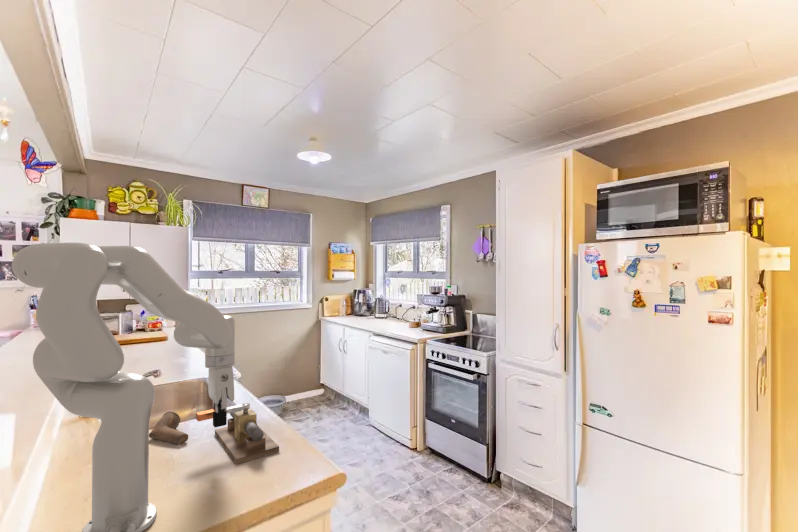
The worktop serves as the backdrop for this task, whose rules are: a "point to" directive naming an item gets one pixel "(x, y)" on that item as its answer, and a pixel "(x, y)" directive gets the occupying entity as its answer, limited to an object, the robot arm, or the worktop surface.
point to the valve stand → (245, 437)
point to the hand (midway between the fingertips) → (219, 425)
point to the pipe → (169, 429)
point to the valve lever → (209, 413)
